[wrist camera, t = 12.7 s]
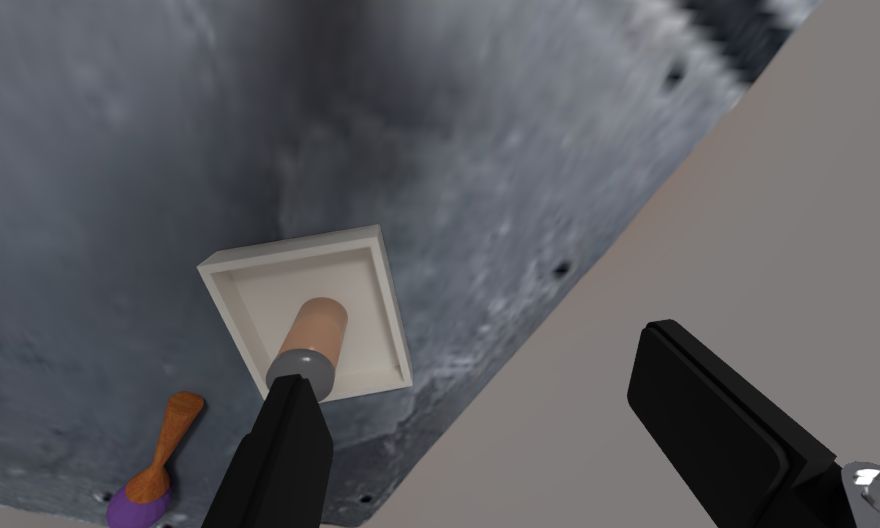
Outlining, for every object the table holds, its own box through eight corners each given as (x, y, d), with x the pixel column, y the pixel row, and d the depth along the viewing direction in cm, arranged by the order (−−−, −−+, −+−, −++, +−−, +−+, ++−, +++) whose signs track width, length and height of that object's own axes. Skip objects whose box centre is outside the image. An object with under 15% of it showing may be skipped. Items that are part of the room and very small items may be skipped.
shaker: (290, 301, 34) (255, 364, 26) (341, 292, 34) (322, 351, 26) (306, 341, 36) (279, 410, 28) (354, 332, 36) (341, 398, 28)
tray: (216, 251, 32) (196, 266, 29) (379, 223, 32) (377, 236, 29) (280, 387, 39) (270, 411, 36) (412, 363, 40) (412, 385, 37)
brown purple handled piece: (208, 429, 36) (151, 545, 41) (222, 388, 41) (170, 495, 46) (140, 421, 33) (88, 546, 38) (165, 378, 38) (115, 493, 43)
